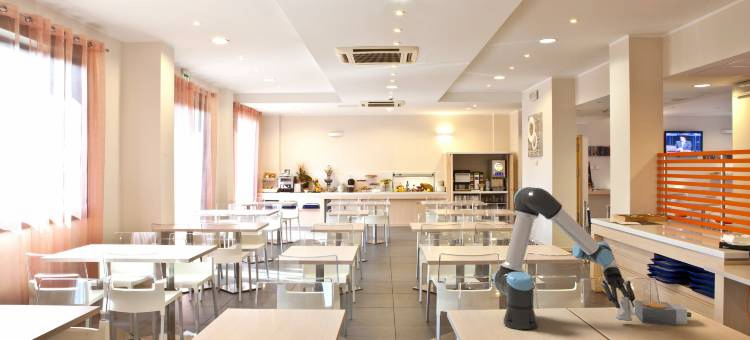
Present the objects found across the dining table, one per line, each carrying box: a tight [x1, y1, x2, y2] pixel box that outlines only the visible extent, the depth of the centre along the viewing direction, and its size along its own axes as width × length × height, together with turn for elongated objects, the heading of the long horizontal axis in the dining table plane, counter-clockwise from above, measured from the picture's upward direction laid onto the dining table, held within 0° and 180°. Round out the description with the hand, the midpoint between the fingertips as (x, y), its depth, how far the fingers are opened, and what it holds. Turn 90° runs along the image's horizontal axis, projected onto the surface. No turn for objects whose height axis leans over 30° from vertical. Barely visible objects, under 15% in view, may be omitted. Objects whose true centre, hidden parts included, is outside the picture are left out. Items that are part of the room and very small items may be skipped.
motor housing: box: [634, 300, 692, 326], centre depth 231 cm, size 22×14×7 cm, turn 75°
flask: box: [615, 296, 633, 322], centre depth 225 cm, size 7×7×10 cm
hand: (628, 314), depth 221 cm, fingers closed on flask, 4 cm apart
